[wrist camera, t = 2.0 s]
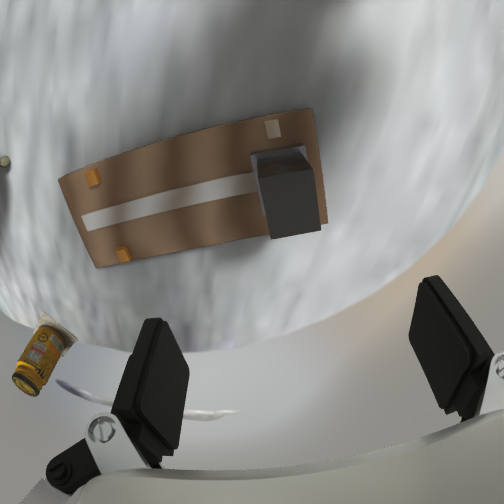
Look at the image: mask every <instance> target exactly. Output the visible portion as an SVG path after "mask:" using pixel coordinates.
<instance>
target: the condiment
mask: <svg viewBox="0 0 504 504" xmlns="http://www.w3.org/2000/svg"><path fill="white" fill-rule="evenodd" d="M33 334H34V335H33V337H32V339H31V340H30V342H29V343H28V345H27V347H26V348H25V350H24V352H23V354H22V355H21V357H20V359H19V360H18V362H17V368H16V369H15V372H14V374H13V376H12V380H13V382H14V384H15V385H16V386H17V387H18V388H19V389H20V390H21V391H23V392H24V393H26V394H28V395H30V396H33V397H35V396H38V395H39V392H40V390H41V389H42V386H44V385H46V383H47V382H48V379H49V377H50V375H51V373H52V371H53V369H54V368H55V365H56V363H57V361H58V359H59V358H60V356H64V355H65V353H66V352H67V351H68V350H69V349H70V347H71V346H72V345H73V344H74V343H75V342H76V340H77V339H76V338H75V337H74V336H73V335H72V334H71V333H69V332H68V331H67V330H66V329H65V328H63V327H62V326H61V325H59V323H57V322H56V321H54V320H53V319H52V318H51V317H50V316H48V315H47V314H46V313H43V315H42V317H41V319H40V320H39V322H38V324H37V326H36V328H35V330H34V332H33Z"/></svg>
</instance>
